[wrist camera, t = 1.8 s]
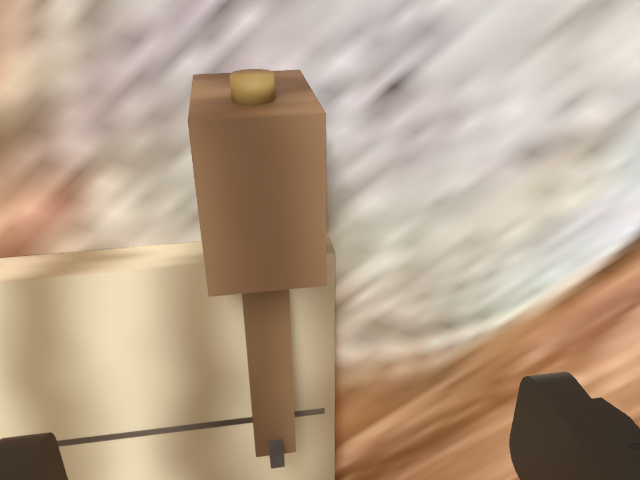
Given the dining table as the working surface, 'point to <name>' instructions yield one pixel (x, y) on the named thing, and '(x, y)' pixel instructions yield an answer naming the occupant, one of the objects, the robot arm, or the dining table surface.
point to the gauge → (262, 220)
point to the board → (154, 367)
